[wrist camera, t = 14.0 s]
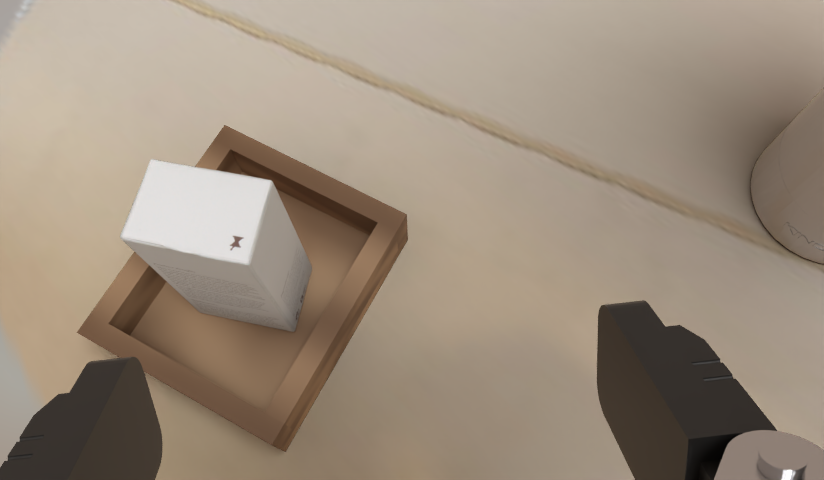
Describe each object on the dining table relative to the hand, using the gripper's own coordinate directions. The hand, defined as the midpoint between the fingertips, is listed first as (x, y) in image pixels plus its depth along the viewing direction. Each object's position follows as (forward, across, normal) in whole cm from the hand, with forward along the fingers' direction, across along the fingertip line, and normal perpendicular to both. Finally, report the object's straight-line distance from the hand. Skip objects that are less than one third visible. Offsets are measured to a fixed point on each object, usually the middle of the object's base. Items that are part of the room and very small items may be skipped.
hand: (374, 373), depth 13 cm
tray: (+29, +8, +13) cm, 32 cm away
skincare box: (+28, +8, +13) cm, 32 cm away
